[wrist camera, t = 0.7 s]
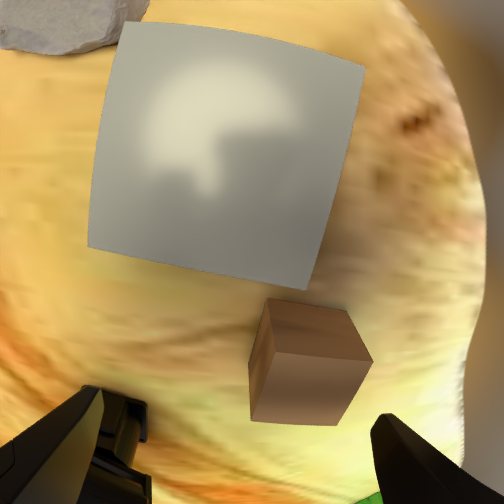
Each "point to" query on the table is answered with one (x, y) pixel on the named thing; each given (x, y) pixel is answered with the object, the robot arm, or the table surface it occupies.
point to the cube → (305, 365)
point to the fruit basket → (372, 499)
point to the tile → (220, 151)
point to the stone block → (65, 24)
